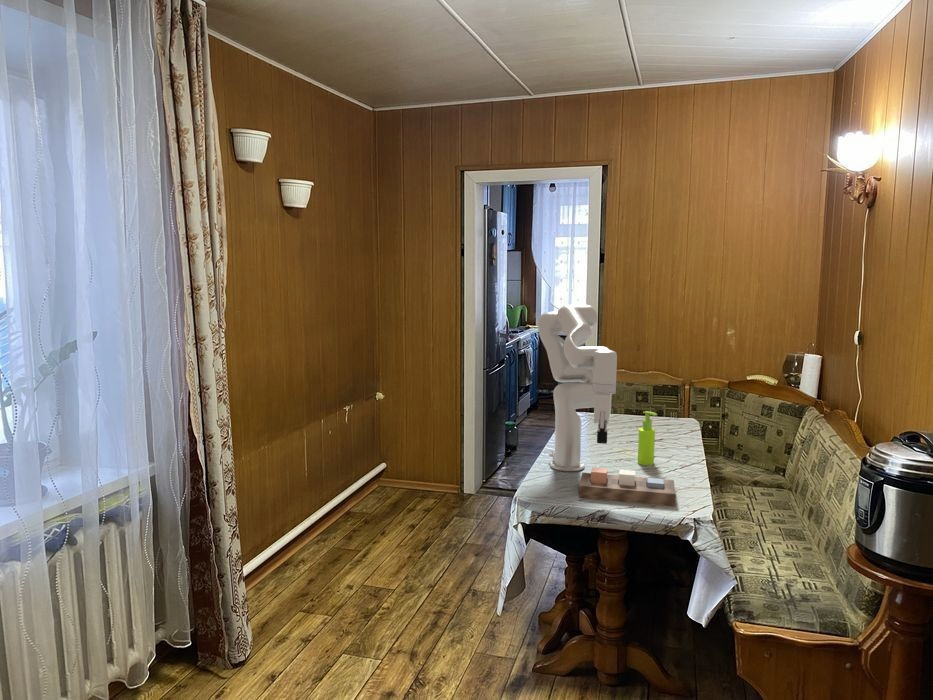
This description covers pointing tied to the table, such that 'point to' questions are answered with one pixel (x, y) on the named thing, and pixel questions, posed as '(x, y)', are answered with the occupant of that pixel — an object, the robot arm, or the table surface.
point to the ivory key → (627, 477)
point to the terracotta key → (599, 475)
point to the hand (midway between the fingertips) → (601, 442)
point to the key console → (627, 491)
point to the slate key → (655, 483)
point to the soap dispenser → (646, 441)
